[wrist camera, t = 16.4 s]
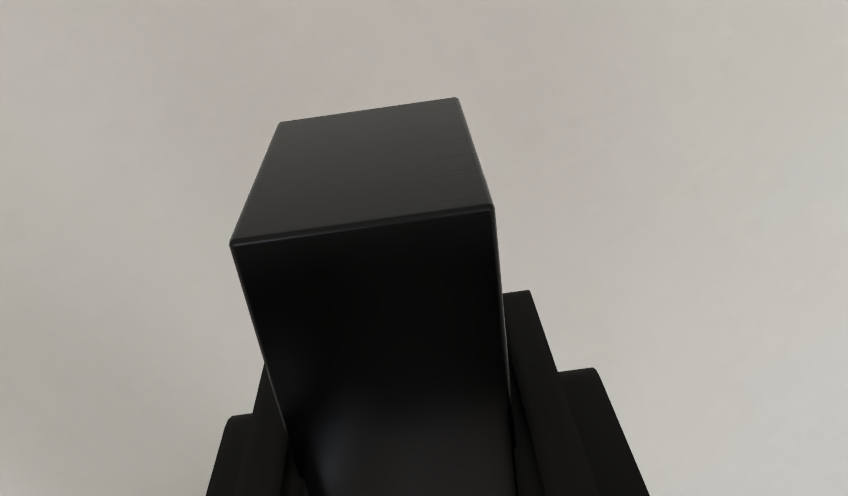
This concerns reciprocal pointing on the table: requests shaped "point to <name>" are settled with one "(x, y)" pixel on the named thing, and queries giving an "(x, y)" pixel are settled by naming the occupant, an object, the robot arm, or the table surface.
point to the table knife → (381, 303)
